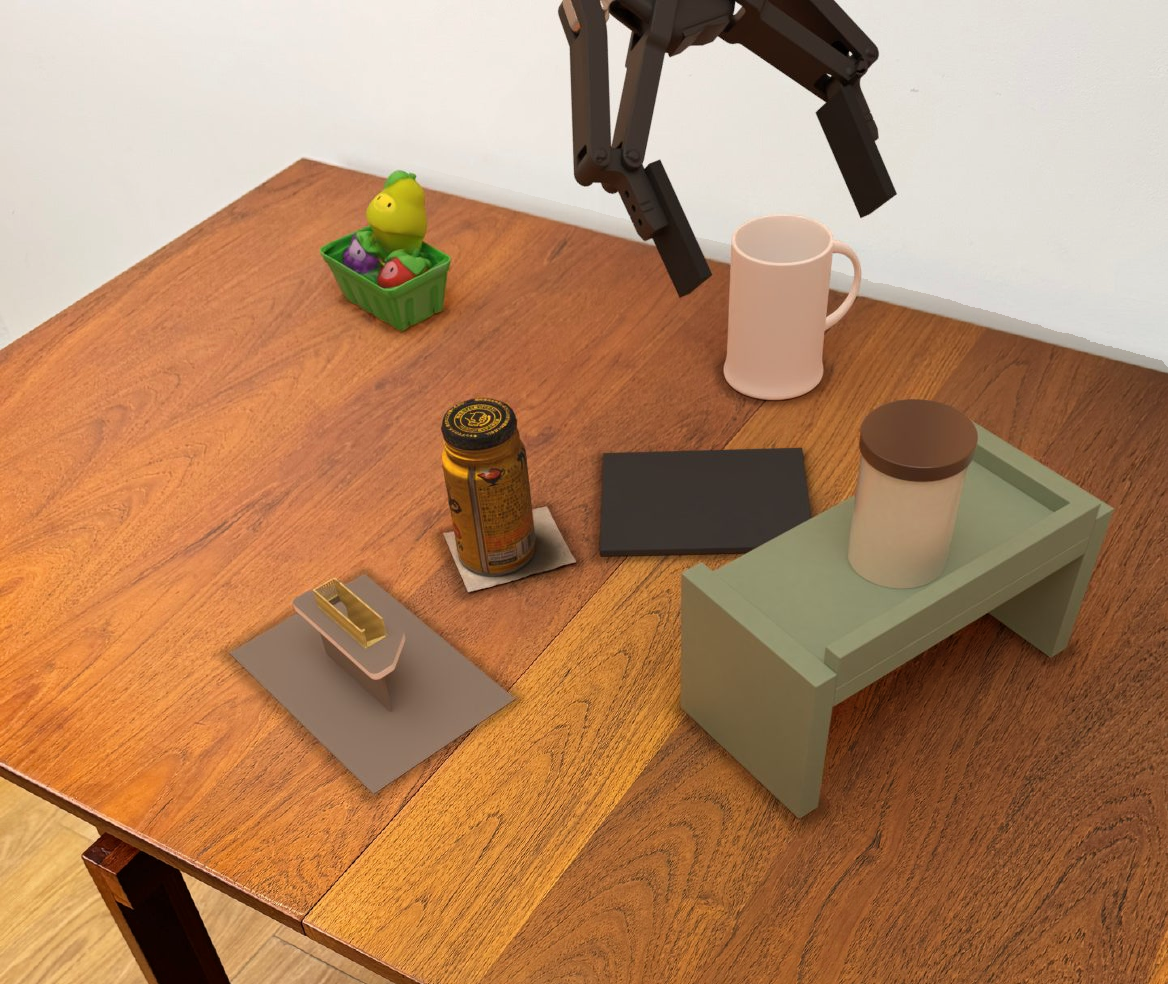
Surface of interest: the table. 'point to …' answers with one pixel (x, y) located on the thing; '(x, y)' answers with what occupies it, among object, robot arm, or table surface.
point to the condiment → (494, 499)
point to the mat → (700, 500)
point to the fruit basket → (392, 258)
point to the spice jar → (909, 491)
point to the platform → (370, 679)
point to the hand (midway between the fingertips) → (790, 246)
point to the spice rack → (873, 612)
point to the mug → (781, 304)
